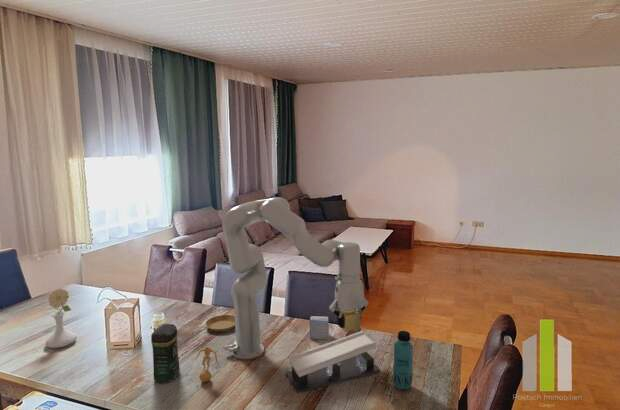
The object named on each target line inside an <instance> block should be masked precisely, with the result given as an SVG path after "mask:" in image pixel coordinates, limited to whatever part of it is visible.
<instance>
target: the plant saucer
mask: <svg viewBox="0 0 620 410" xmlns="http://www.w3.org/2000/svg"><path fill="white" fill-rule="evenodd" d="M205 326H206V327H207V328H208V329H209V330H210V331H213V332H215V333H224V332H227V331H231V330H233V328H235V315H231V314H221V315H216V316H212V317H210V318H209V319H207V320H206V321H205Z"/></svg>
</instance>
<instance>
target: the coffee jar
mask: <svg viewBox="0 0 620 410" xmlns="http://www.w3.org/2000/svg"><path fill="white" fill-rule="evenodd" d="M150 337H151V339H150V340H151V346H152V359H153V361H152V362H153V363H152V364H153V381H155V382H156V383H157V382H158V383H167V382H172V381H173V380H174V379H175V378H176V377H177V375H178V374H179V373H180V361H179V358H180V357H179V350H178V348H179V347H178V329H177V326H176V324H174V323H163V324H162V325H159V326H158V327H157V328H156V329H155V330H154V331H153V332H152V333H151V336H150Z"/></svg>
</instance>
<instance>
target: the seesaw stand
mask: <svg viewBox="0 0 620 410" xmlns="http://www.w3.org/2000/svg"><path fill="white" fill-rule="evenodd" d="M380 372H381V369H380V367H378V365H376V364H375V359H374V357H373V356H372V355H371V354H370V353H368V351H367V352H364V353H361V354H359V355H356V356H354V357H351V358H348V359H346V360H343V361H340V362H338V363H335V364H333V365H330V366H327V367H325V368H322V369H319V370H317V371H314V372H311V373H309V374H306V375H304V376H301V377H299V376H298V375H297V373H296V371H295V370H294V368H293V367H292V366H291V370H288V371H286V372H285V375H286V376H287V378H288V380H289V382H290V384H291V385H292V387H293V388H294V390H295V392H296V393H297V394H301V393H304V392H308V391H312V390H316V389H320V388H323V387H324V388H325V387H328V386H332V385H335V384H339V383H344V382H348V381H351V380H355V379H360V378H363V377H367V376H371V375H374V374H379V373H380Z"/></svg>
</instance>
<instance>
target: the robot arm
mask: <svg viewBox="0 0 620 410" xmlns="http://www.w3.org/2000/svg"><path fill="white" fill-rule="evenodd" d="M290 205H291V204H290V203H289V201H288V200H287V199H285V198H284V197H280V196H277V197H276V196H275V197H271V198H265V199H258V200H252V201H248V202H246V203H242V204H239V205H236V206H234V207H232V208H231V209H229V210H228V211H227V212H226V213H225V214H224V216H223V218H222V223H221V225H222V226H221V227H222V232H223V235H224V239H225V244H226V250H227V255H228V256H227V257H228V260H229V261H228V262H229V265H230V269H231V271H233V272H234V274H238V275H241V274H242V275H241V276H240V277H238V278H237V279H235V281H234V282H233V283H232V285H231V290H230V291H231V298H232V302H233V309H234V316H235V326H234V328H235V329H234V330H235V331H234V332H235V339H234V341H233V343H231V344H225V345H224V346H223V350H224V352H226V351H228V353H232V355H233V357H235V358H236V359H239V360H243V361H244V360H254V359H256V358H258V357H259V358H260V356H263V354H264V352H265V346H264V344H262V343H261V332H260V310H259V309H260V307H259V303H258V300H257V295H258V294H260V293H261V292H262V291H263V290H264V289H265V288H266V286H267V282H268V277H267V276H268V275H267V270H266V264H265V258H264V254H263V251H262V250H261V248H260V247H259V246H258V245H256V244H253V243H249V238H248V237H249V236H248V234H247V233H246V231H245V229H244V228H246V227H249V226H251V225H253V224H256V223H258V222H264V221H265V222H266V223H268V224H269V225H271V227H273V228H274V229H276V230H277V231H278V232H280V233H282V234H283V235H285V237H287V238H288V239H290V241H291V243H292V245H293V246H295V248H296V250H297V251H298V253H300V254H301V255H302V256H304V258H305V259H307V260H309V261H310V262H311V263H312V264H314V265H316V266H318V267H322V268H326V267H329V266H331V265H332V264H333V263H334V262H335V261H338V273H337V275H336V276H334V278H335V280H336V285H335V290H334V300H333V302H332V303H331V304H330V305H329V307H328V310H330V312H331V313H334V315H335V316H336V324H337V326H338V327H339V328H340V329H342V328H343V317H342V315H343V312H344V311H349V310H354V309H356V310H357V311H358V312H360V322H361V321H362V319H361V318H362V314H363V311H364V310H365V309H366V307H367V306H368V305H369V301H368V300H367V299H366V298H365V292H364V284H363V280H362V279H360V278H361V275H360V274H361V273H360V272H361V269H360V268H361V247H360V245H359V244H358V243H356V242H352V241H351V242H349V241H347V242H342V241H338V240H334V239H327V240H325V241H323V242H322V243H321V242H319V241H318V240H316V239H315V238H314V237H313V236H312V235H311V234H310V233H309V232H308V230H307V226H306V221H305V220H304V218H302V217H300V216H299V215H298V214H296V213H294V212H293V211H291V206H290ZM336 308H337V309H336Z"/></svg>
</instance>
